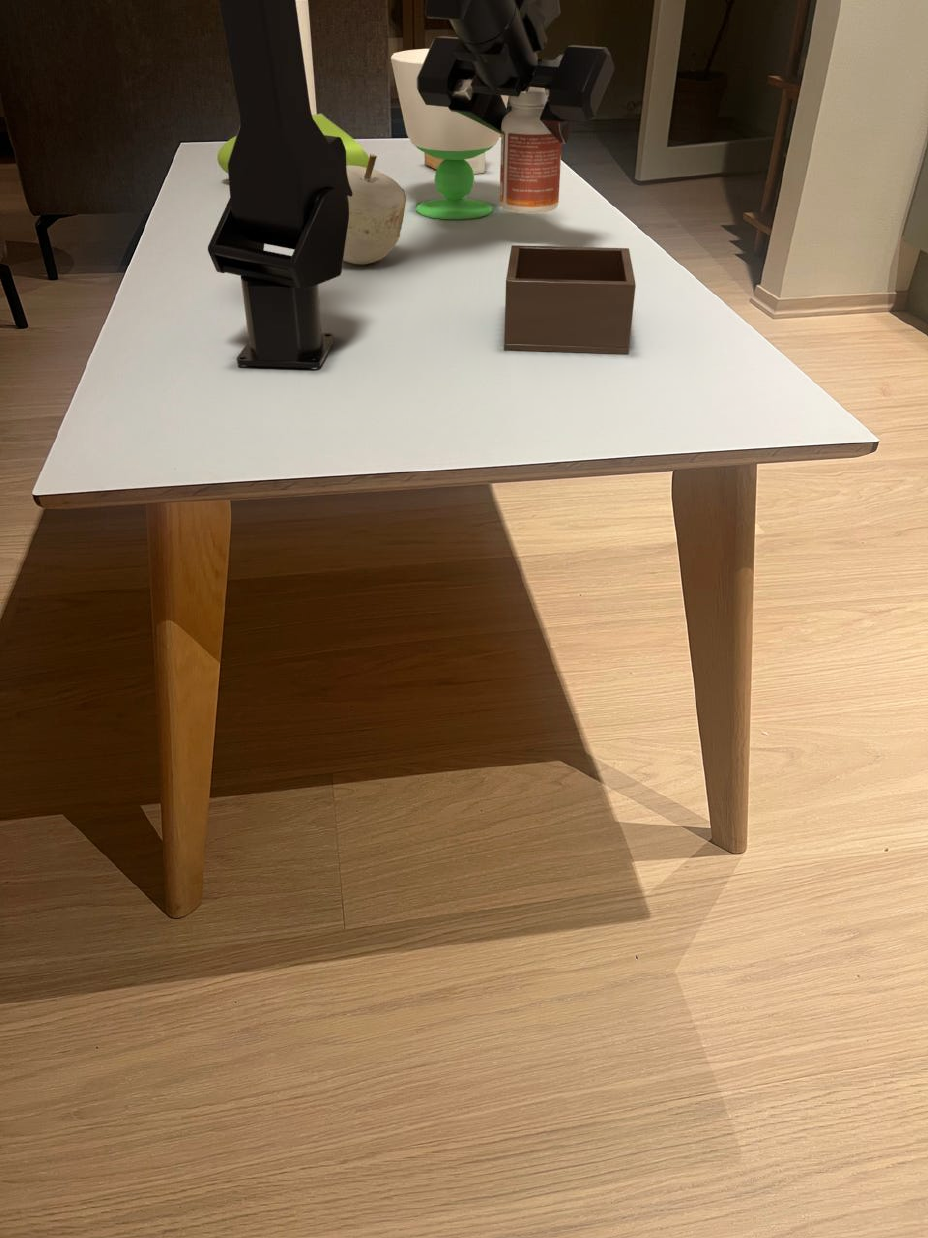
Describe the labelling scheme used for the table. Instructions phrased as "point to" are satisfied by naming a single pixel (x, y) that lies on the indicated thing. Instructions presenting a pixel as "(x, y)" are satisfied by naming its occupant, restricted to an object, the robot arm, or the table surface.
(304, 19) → the candle
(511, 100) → the pill bottle
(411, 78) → the cup
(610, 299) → the brown rectangular open box
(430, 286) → the table surface
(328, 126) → the green curved piece
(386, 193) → the decorative object
